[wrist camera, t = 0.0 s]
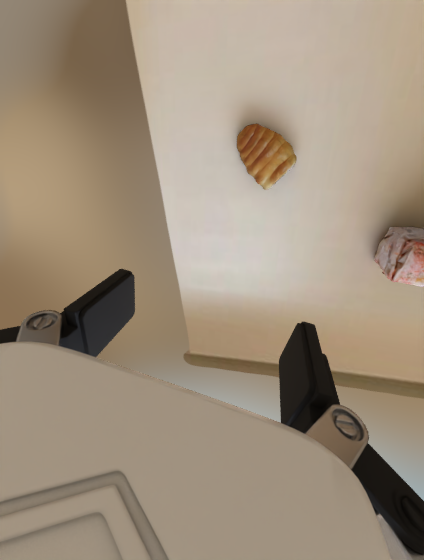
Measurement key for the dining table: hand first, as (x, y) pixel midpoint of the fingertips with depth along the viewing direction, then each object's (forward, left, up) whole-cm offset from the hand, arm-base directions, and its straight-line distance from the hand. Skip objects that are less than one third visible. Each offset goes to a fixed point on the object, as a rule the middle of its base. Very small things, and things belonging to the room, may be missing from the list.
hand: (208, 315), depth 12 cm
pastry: (-8, 0, -31) cm, 32 cm away
